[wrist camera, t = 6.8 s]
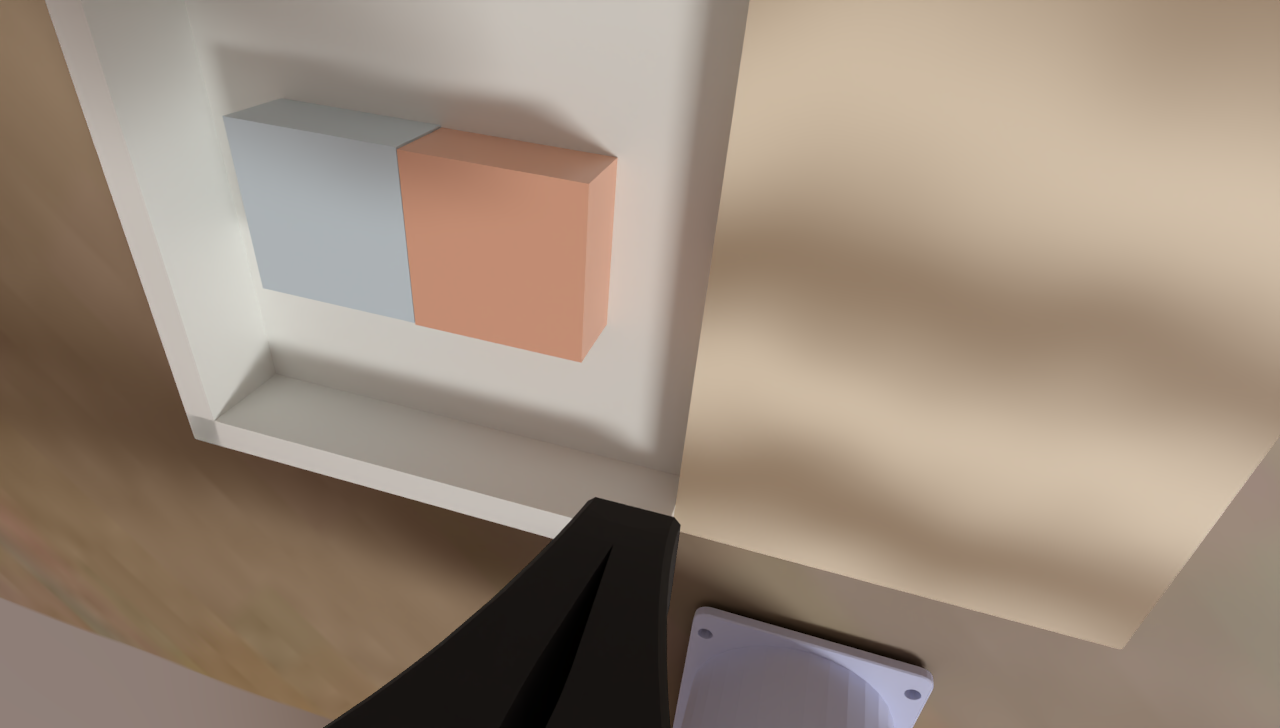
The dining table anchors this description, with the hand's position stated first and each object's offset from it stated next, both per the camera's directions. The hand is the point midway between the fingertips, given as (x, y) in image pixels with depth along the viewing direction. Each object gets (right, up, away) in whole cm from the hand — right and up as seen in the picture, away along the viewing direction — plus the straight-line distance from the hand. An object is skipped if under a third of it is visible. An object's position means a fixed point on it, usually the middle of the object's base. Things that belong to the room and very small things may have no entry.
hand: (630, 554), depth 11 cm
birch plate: (+8, +4, +6) cm, 11 cm away
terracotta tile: (-3, +6, +7) cm, 10 cm away
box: (-5, +7, +8) cm, 12 cm away
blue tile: (-7, +7, +8) cm, 13 cm away
